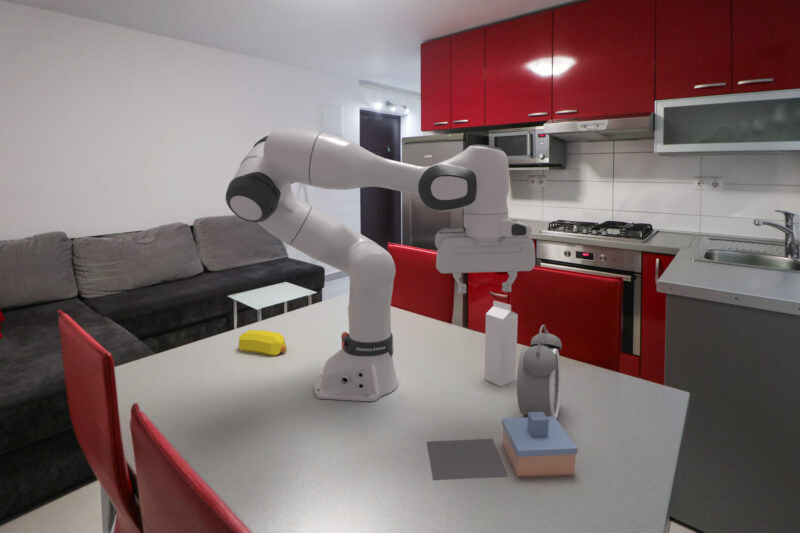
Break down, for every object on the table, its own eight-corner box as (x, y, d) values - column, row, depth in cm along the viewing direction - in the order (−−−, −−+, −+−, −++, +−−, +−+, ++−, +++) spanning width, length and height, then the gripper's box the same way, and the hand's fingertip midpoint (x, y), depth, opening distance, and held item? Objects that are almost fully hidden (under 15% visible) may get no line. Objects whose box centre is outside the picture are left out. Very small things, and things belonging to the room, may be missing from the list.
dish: (517, 479, 83) (518, 455, 82) (502, 445, 93) (503, 424, 92) (574, 477, 83) (575, 453, 82) (552, 443, 94) (553, 421, 93)
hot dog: (247, 344, 153) (232, 352, 145) (245, 325, 151) (230, 333, 144) (293, 350, 146) (279, 359, 139) (291, 330, 145) (277, 339, 138)
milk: (501, 387, 118) (503, 307, 114) (483, 379, 123) (485, 302, 118) (515, 380, 122) (518, 303, 117) (498, 372, 127) (500, 298, 122)
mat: (433, 482, 82) (433, 479, 82) (426, 444, 94) (426, 441, 94) (508, 479, 83) (508, 476, 83) (492, 441, 95) (492, 438, 95)
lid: (517, 456, 82) (518, 433, 81) (501, 423, 92) (502, 402, 91) (577, 454, 82) (578, 431, 81) (554, 421, 93) (555, 400, 92)
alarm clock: (553, 439, 95) (558, 342, 90) (512, 430, 99) (515, 336, 94) (561, 403, 109) (567, 318, 105) (525, 396, 113) (529, 313, 109)
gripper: (436, 229, 88) (437, 297, 91) (539, 227, 89) (536, 294, 91) (433, 226, 94) (433, 289, 97) (529, 223, 95) (526, 287, 98)
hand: (484, 292), depth 94 cm, fingers open, 8 cm apart
